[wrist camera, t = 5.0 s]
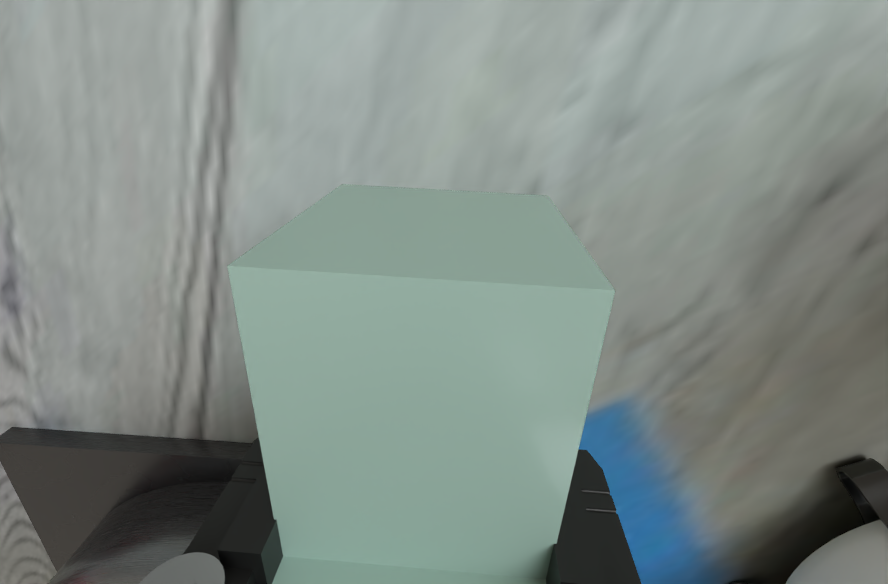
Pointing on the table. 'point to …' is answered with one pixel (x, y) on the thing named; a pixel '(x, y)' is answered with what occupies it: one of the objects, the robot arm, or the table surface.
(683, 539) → the table surface
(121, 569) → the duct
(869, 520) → the coffee press
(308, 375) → the sage green stepped block
